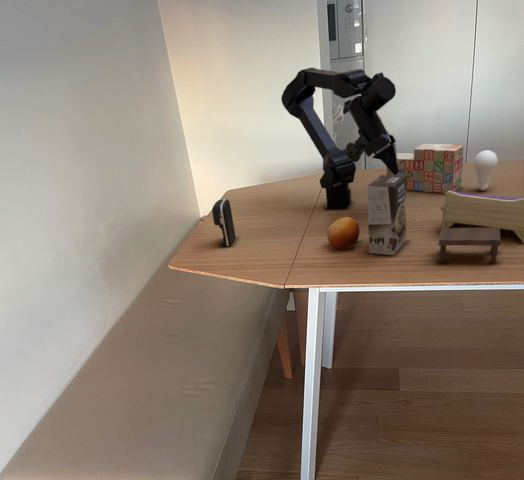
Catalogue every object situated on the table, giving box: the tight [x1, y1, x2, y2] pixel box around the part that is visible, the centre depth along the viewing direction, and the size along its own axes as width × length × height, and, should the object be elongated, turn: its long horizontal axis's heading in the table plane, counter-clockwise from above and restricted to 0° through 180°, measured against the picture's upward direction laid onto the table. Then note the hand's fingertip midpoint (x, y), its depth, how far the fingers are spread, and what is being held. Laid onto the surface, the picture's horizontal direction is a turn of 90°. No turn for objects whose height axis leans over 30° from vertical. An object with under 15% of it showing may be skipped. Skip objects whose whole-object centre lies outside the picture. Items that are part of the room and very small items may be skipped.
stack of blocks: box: [385, 143, 465, 195], centre depth 154 cm, size 21×6×12 cm, turn 49°
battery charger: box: [211, 198, 237, 247], centre depth 139 cm, size 7×4×11 cm, turn 171°
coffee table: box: [438, 227, 501, 265], centre depth 112 cm, size 12×7×6 cm, turn 71°
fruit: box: [326, 216, 360, 250], centre depth 127 cm, size 8×8×8 cm
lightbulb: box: [473, 149, 499, 191], centre depth 145 cm, size 6×6×11 cm
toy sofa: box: [440, 191, 524, 244], centre depth 121 cm, size 21×9×10 cm, turn 49°
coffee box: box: [367, 174, 408, 256], centre depth 120 cm, size 9×6×16 cm
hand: (396, 174), depth 134 cm, fingers closed
